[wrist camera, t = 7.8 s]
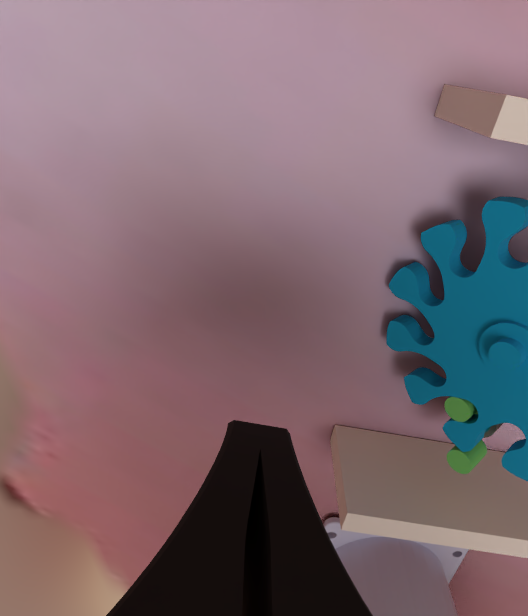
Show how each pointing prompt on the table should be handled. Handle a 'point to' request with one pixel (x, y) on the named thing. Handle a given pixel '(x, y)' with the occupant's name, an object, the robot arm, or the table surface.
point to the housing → (432, 454)
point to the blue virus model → (472, 335)
